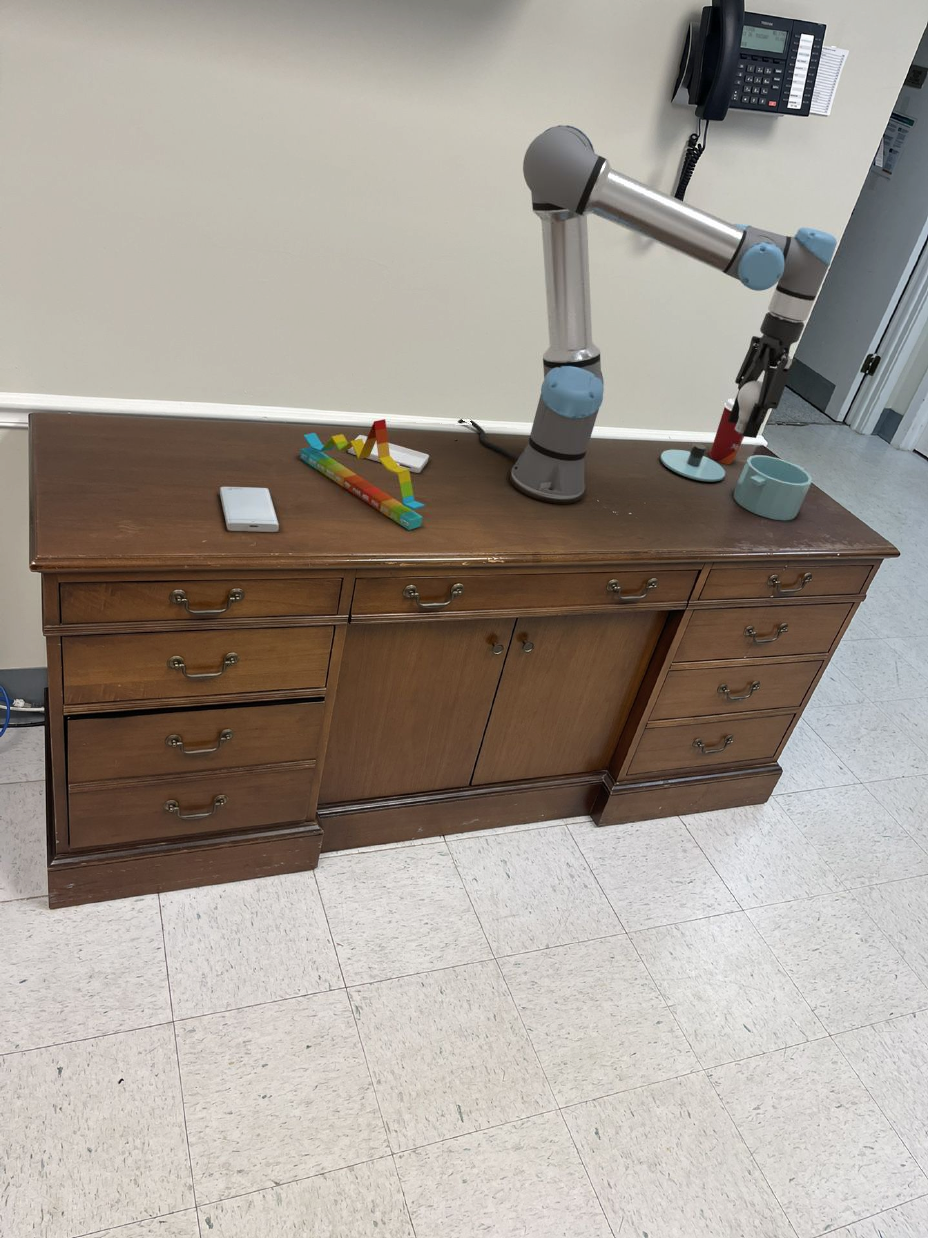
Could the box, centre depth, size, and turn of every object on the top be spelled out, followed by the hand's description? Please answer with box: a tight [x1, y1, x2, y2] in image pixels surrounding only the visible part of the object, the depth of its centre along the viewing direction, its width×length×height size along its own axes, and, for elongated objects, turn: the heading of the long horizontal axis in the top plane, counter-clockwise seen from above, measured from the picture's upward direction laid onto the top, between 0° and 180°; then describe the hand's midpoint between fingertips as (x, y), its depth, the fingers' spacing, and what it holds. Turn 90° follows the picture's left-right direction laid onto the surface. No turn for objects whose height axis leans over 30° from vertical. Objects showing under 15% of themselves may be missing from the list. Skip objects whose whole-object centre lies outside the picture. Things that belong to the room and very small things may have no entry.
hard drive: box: [219, 486, 280, 533], centre depth 153 cm, size 2×8×12 cm
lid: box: [659, 442, 726, 483], centre depth 210 cm, size 15×15×6 cm
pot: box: [732, 454, 813, 521], centre depth 200 cm, size 14×20×8 cm
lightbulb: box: [735, 380, 763, 434], centre depth 184 cm, size 6×6×11 cm
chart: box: [299, 419, 426, 531], centre depth 164 cm, size 30×3×15 cm, turn 47°
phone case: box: [347, 434, 430, 474], centre depth 183 cm, size 7×1×15 cm
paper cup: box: [709, 398, 745, 465], centre depth 217 cm, size 8×8×14 cm
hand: (741, 429), depth 186 cm, fingers closed on lightbulb, 6 cm apart
